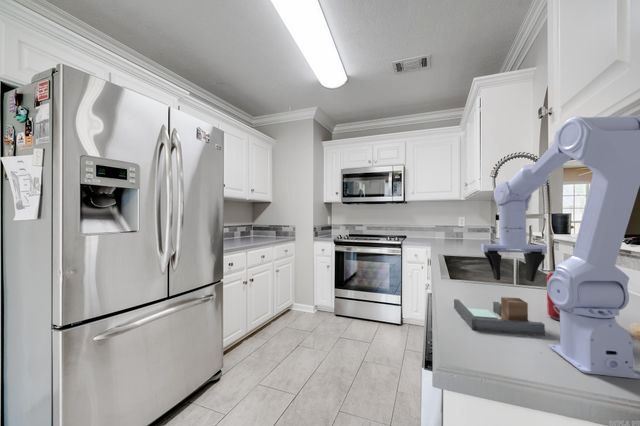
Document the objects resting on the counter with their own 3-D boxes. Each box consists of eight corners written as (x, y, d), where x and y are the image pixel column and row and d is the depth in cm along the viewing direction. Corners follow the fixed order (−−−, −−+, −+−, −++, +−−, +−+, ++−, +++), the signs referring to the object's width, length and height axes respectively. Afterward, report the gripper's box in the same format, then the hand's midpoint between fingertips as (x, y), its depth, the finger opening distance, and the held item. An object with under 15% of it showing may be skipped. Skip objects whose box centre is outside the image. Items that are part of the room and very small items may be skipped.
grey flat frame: (544, 335, 59) (544, 324, 59) (471, 329, 62) (471, 318, 62) (511, 311, 74) (511, 302, 74) (454, 307, 77) (453, 299, 77)
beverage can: (586, 324, 65) (585, 275, 65) (557, 322, 66) (556, 274, 66) (568, 315, 71) (567, 270, 71) (541, 313, 72) (541, 269, 73)
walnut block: (527, 328, 63) (527, 303, 63) (508, 327, 64) (508, 302, 64) (519, 322, 67) (518, 298, 67) (501, 320, 68) (501, 297, 68)
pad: (497, 318, 69) (497, 317, 69) (471, 316, 70) (471, 315, 70) (488, 310, 75) (488, 309, 75) (464, 309, 76) (464, 308, 76)
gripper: (535, 228, 72) (536, 278, 72) (476, 227, 76) (477, 275, 75) (551, 228, 66) (553, 284, 65) (486, 228, 69) (487, 281, 68)
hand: (513, 280), depth 70 cm, fingers open, 7 cm apart
